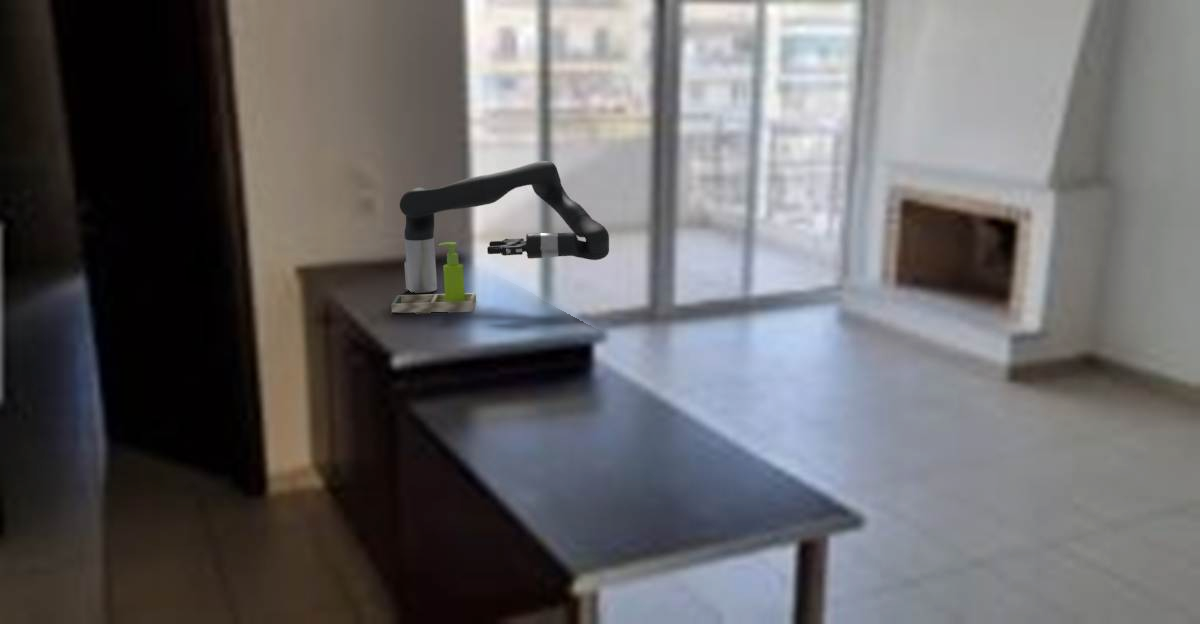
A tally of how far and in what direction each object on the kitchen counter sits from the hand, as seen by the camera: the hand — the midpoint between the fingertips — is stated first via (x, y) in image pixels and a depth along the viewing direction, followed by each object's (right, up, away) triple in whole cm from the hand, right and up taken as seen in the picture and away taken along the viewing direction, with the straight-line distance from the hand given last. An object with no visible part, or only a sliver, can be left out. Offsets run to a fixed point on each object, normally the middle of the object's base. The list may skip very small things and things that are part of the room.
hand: (488, 247), depth 312 cm
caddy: (-17, -18, +4) cm, 25 cm away
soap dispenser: (-11, -18, +4) cm, 21 cm away
